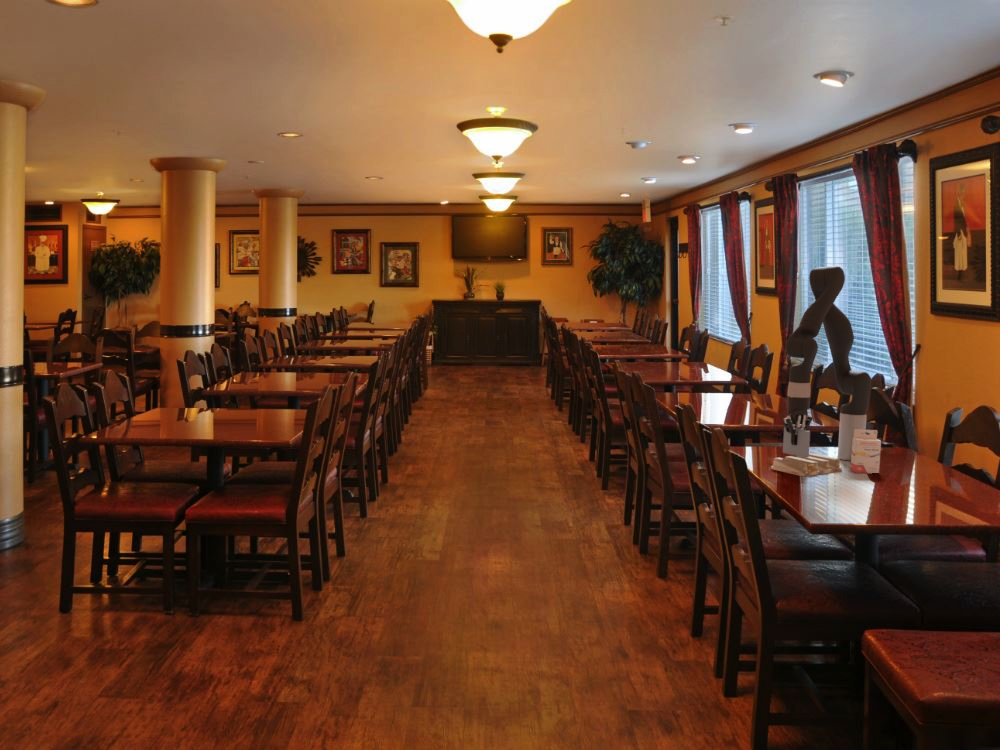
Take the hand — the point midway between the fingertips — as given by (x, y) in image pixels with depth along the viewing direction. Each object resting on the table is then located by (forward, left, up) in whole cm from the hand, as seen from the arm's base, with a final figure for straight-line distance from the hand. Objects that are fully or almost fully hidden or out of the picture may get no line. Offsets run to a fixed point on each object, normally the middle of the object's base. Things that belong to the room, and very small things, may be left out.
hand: (796, 444), depth 320 cm
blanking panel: (0, 0, -4) cm, 4 cm away
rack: (-6, 0, -9) cm, 11 cm away
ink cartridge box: (-22, +12, -10) cm, 27 cm away
